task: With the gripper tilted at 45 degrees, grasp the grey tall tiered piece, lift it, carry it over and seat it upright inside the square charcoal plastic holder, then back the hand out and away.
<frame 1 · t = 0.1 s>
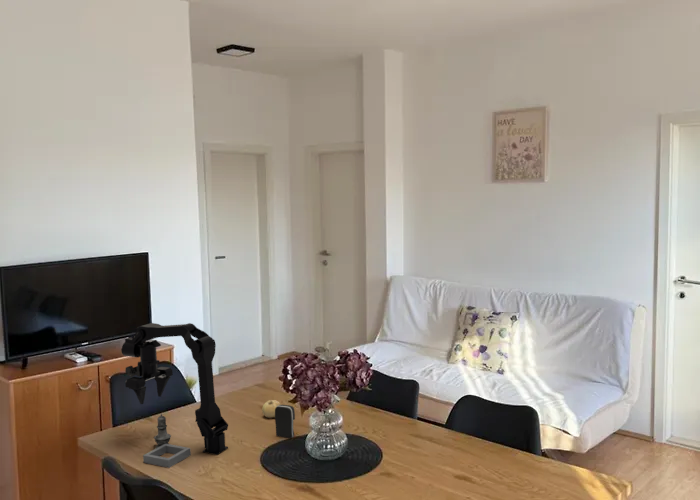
hand: (150, 400, 238), 15 cm above the table, tool pointing down, fingers open, 9 cm apart
shaker holder: (167, 458, 221), on the table
grey tall tiered piece: (163, 446, 232), on the table
onion: (272, 416, 260), on the table
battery: (286, 436, 239), on the table
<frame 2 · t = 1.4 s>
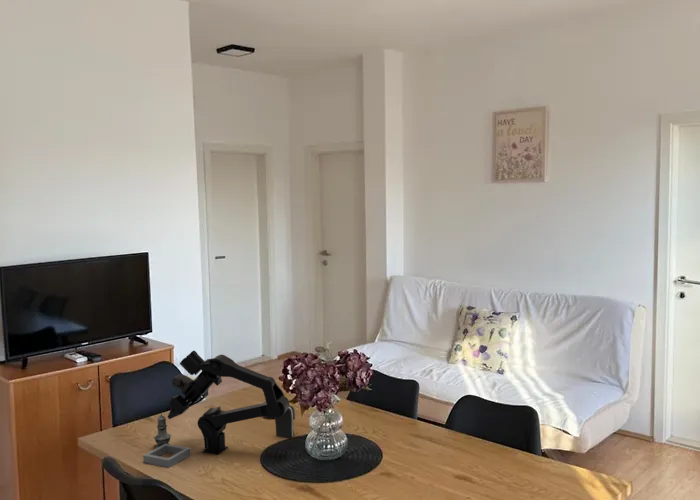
hand: (175, 413, 230), 12 cm above the table, tool tilted 45°, fingers open, 9 cm apart
nothing on the table moved.
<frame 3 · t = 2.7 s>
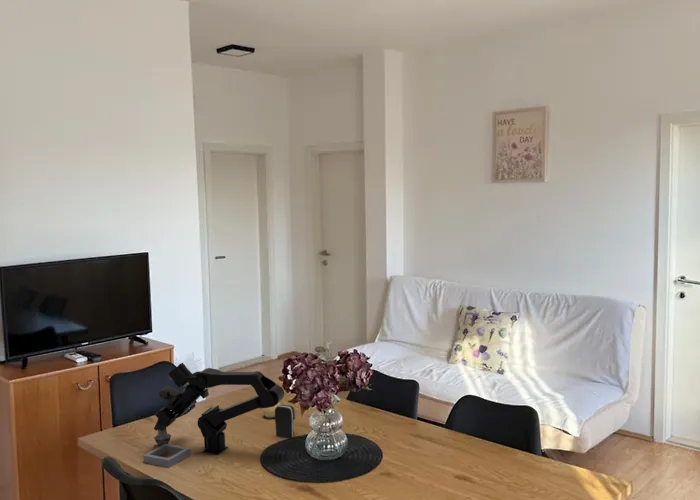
hand: (162, 424, 231), 8 cm above the table, tool tilted 45°, fingers open, 9 cm apart
nothing on the table moved.
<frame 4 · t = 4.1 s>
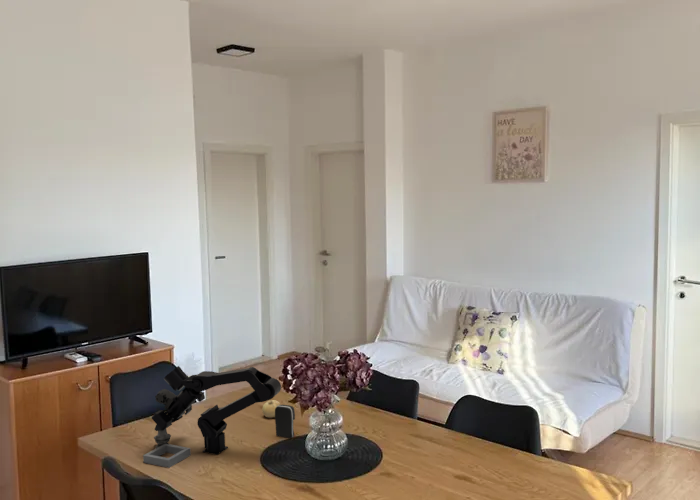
hand: (158, 428, 232), 7 cm above the table, tool tilted 45°, fingers closed on grey tall tiered piece, 3 cm apart
grey tall tiered piece: (163, 446, 232), on the table, touching gripper
everything else where it was.
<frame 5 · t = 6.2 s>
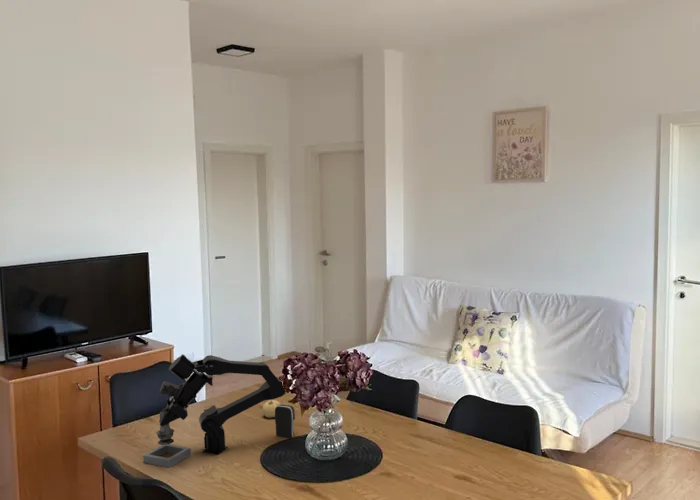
hand: (160, 423, 221), 12 cm above the table, tool tilted 45°, fingers closed on grey tall tiered piece, 3 cm apart
grey tall tiered piece: (166, 442, 222), point 5 cm above the table, touching gripper
everything else where it was.
when the fingers open (7 cm above the table, at t = 8.2 s): grey tall tiered piece stays where it is, resting in shaker holder.
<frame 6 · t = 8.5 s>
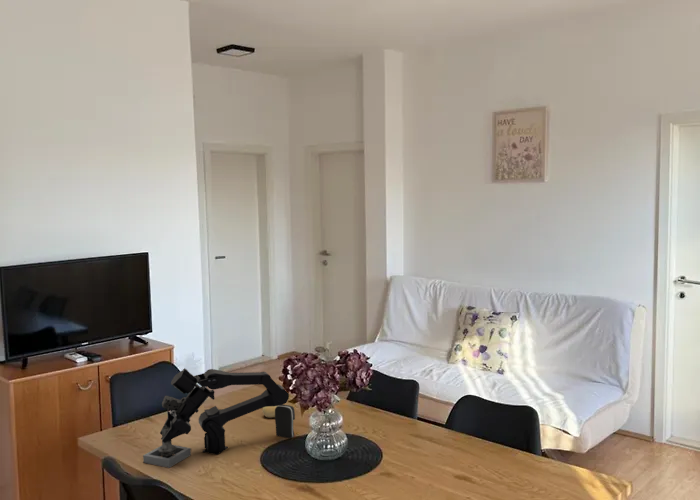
hand: (162, 437, 220), 8 cm above the table, tool tilted 45°, fingers open, 7 cm apart
grey tall tiered piece: (167, 459, 221), resting in shaker holder
everything else where it was.
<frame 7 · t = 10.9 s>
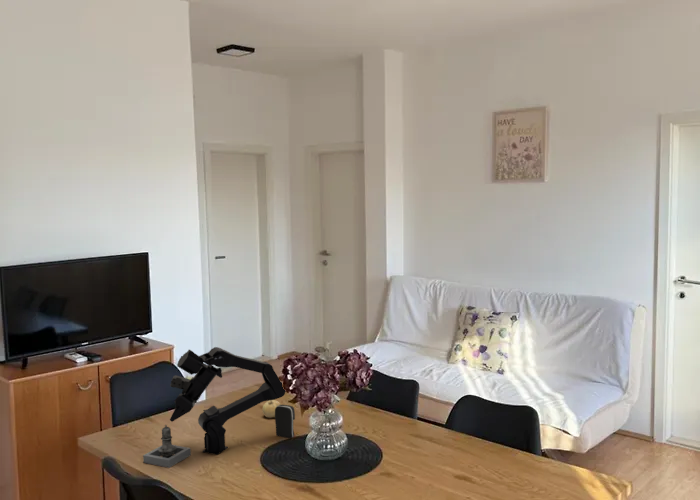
hand: (173, 417, 223), 13 cm above the table, tool tilted 40°, fingers open, 9 cm apart
nothing on the table moved.
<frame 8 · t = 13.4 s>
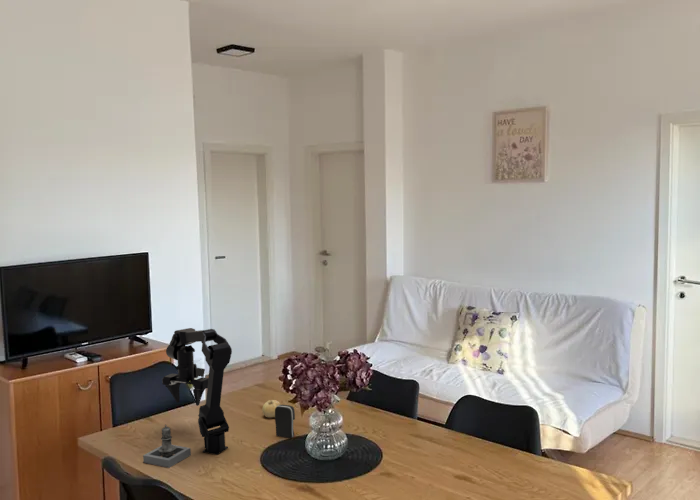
hand: (187, 403, 241), 12 cm above the table, tool pointing down, fingers open, 9 cm apart
nothing on the table moved.
at the end: grey tall tiered piece 0.1 cm off-centre on the shaker holder, point 0.0 cm above the shaker holder's base; grey tall tiered piece tilted 0°; the gripper is holding nothing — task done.
